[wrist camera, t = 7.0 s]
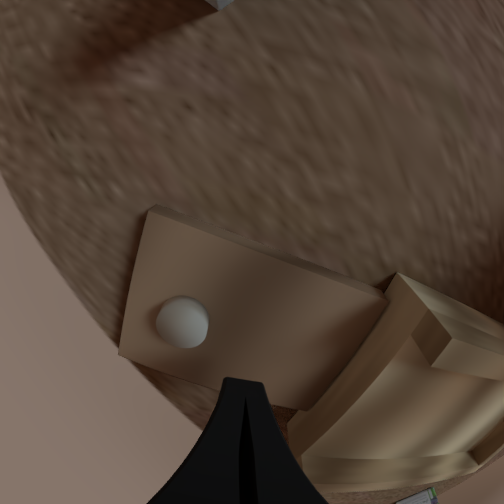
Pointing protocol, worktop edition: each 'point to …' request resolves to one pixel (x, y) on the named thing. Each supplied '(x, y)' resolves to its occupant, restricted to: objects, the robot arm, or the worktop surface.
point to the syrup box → (421, 498)
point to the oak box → (408, 398)
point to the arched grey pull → (219, 3)
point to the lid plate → (240, 311)
